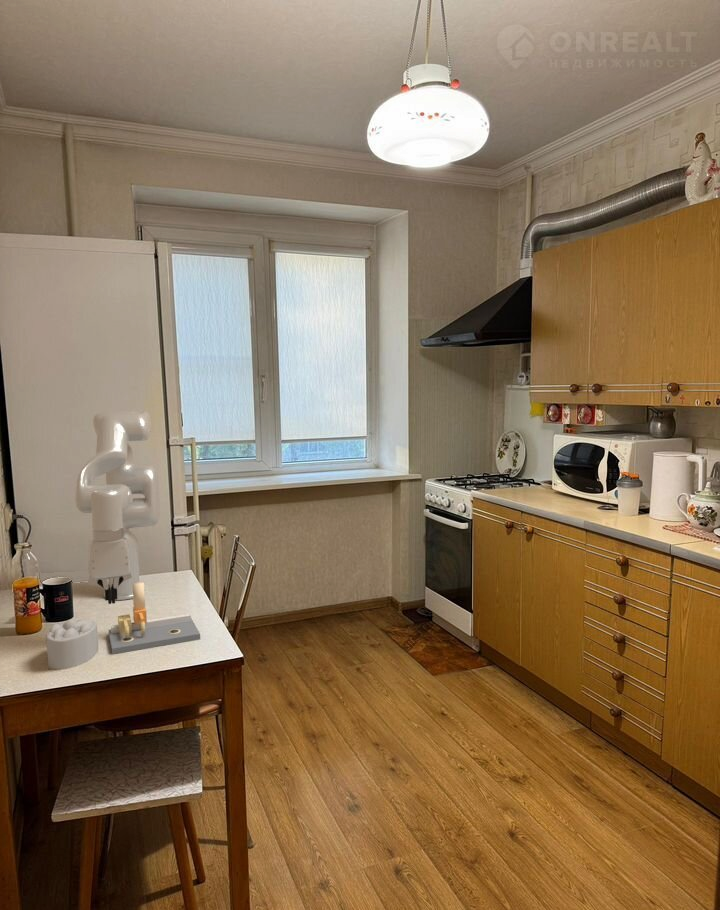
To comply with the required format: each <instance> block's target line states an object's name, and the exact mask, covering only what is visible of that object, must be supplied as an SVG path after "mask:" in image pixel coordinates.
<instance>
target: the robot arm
mask: <svg viewBox="0 0 720 910" xmlns="http://www.w3.org/2000/svg"><path fill="white" fill-rule="evenodd" d="M92 422H93V423H92V424H93V429H94V431H95V434H96V446H95V447H96V450H95V451H96V452H95V455H94V456H93V457H92V458H91V459H90V460H88V461H87V462H86V463H85V464H84V465H83V467H82V468H80V471H79V474H77V479H76V489H75V506H76V508H77V509H78V511H80V512H81V513H86V514H91V524H92V526H91V527H92V528H91V529H92V540H89V541H90V542H89V546H88V547H89V548H88V573H89V578H88V583H89V584H90V585H91V584H92V585H99V586H100V587H101V588H103V590H104V592H103V597H104V600H105V601H107V603H108V605H111V604H113V605H114V604H116V601H124V600H131V599H132V600H133V584H134V583H137V582H141V580H140V564H139V562H140V561H139V560H140V559H139V542H138V539H137V537H136V535H135V534H134V533H133V532H132V531H131V530H130V529H133V528H135V529H137V528H148V527H153V526H156V525H158V523H159V522H160V498H159V497H160V496H159V480H158V479H159V477H158V472H157V470H156V468H155V467H154V466H153V465H151V464H134V454H133V453H134V451H133V448H132V447H131V446H130V444H129V443H128V442H145V441H147V440H148V439H149V437H150V435H151V432H152V429H153V428H152V425H153V423H152V422H153V421H152V418H151V414H150V413H149V412H148V411H145V410H124V411H123V410H113V411H111V410H110V411H102V412H98V413H96V414H95V415H94V416H93V420H92ZM104 474H105V484H93V485H90V484H91V483H92V482H93V480H95V479H96V478H98V477H100V476H102V475H104ZM133 495H143V496H144V497H137V498H135V497H133ZM144 590H145V591H146V588H145V587H144Z"/></svg>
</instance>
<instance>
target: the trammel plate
mask: <svg viewBox="0 0 720 910" xmlns="http://www.w3.org/2000/svg"><path fill="white" fill-rule="evenodd" d="M108 637H109V643H110V649H111V653H112V655H116V654H122V653H123V654H124V653H128V652H135V651H140V650H145V649H151V648H156V647H157V648H159V647H163V646H169V645H174V644H180V643H185V642H191V641H197V640H201V633H200V631H199V629H198V627H197V626H196V623H195V622H194V620H193V619H192V617H191V614H190V613H187V614H180V615H179V614H178V615H173V616H172V615H171V616H165V617H160V618H159V617H158V618H154V619H153V618H152V619H147V623H145V636H141V624H138V625H135V623H134V621H133V622H132V619H131V616H130V614H129V613H128V614H123V615H117V624H116V625H110V629H108Z"/></svg>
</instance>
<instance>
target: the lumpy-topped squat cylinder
mask: <svg viewBox="0 0 720 910" xmlns="http://www.w3.org/2000/svg"><path fill="white" fill-rule="evenodd" d="M46 650H47V653H46V654H47V665H48V667H49V668H50V669H53V670H55V671H56V670H58V671H61V670H67V669H72V668H76V667H79V666H81V665H83V664H85V663H88V662H89V661H91V660H92V659H93V658H94V657H95V656H96V655H97V654H99V653H98V652H99V635H98V624H97V622H95V621H91V620H89V619H68V620H66V621H65V622H63V623H60V624H59V623H55V624H53V625H52V626H51V627H50V628H49V631H48V632H47V633H46Z"/></svg>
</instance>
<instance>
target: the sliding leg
mask: <svg viewBox="0 0 720 910" xmlns="http://www.w3.org/2000/svg"><path fill="white" fill-rule="evenodd" d="M144 588H145V582H143V581H142V582H141V581H140V582H137V583H134V584H133V598H132V600H133V607H132V613H133V617H132V618H133V622H134V623H135V625H138V624H141V636H145V623H147V620H148V618H147V609H146V596H145V594H146V589H145V590H144Z"/></svg>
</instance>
